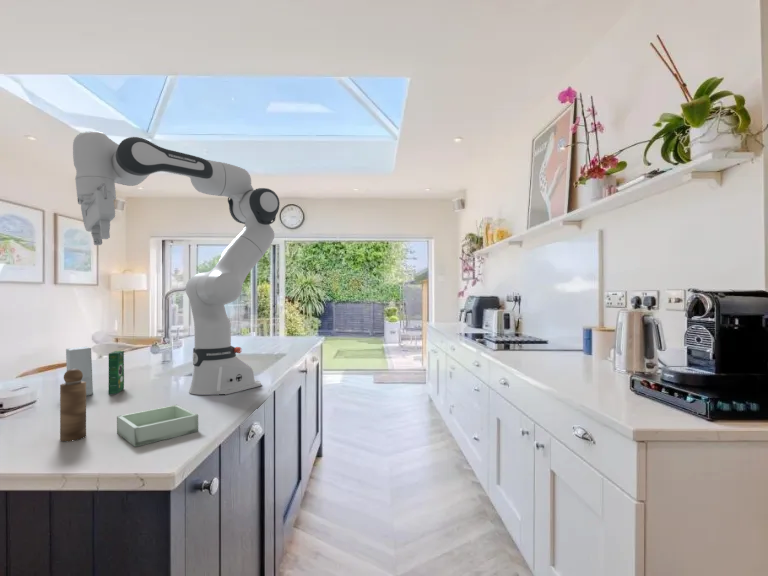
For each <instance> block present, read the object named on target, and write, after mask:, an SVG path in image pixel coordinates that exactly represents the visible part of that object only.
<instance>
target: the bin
mask: <svg viewBox="0 0 768 576" xmlns="http://www.w3.org/2000/svg"><path fill="white" fill-rule="evenodd" d="M197 432H199V414H198V413H196V412H193V411H192V410H188V409H187V408H184V407H183V406H180V405H178V404H173V405H168V406H163V407H159V408H152V409H148V410H142V411H137V412H133V413H127V414H122V415H117V416H116V433H117V434H118V435H119V436H120V435H121V436H120V437H122V438H123V439H124V440H125V441H127V442H128V443H130V445H132V446H133V447H135V448H136V447H140V446H144V445H148V444H152V443H156V442H160V441H164V440H170V439H173V438H177V437H180V436H185V435H189V434H193V433H197Z"/></svg>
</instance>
